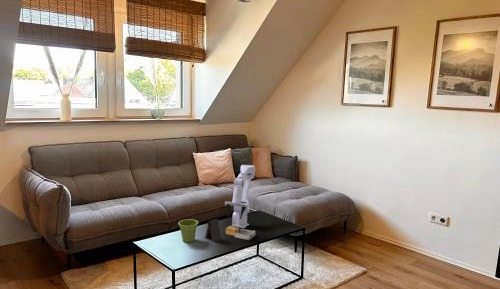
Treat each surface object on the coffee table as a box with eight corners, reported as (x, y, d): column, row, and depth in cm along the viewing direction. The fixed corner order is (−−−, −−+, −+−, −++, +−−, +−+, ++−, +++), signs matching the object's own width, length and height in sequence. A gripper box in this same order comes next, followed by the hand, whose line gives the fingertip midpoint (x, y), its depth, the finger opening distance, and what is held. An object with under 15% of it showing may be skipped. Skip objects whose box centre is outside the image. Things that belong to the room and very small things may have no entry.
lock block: (225, 234, 233) (225, 228, 232) (229, 231, 237) (229, 225, 237) (235, 236, 230) (235, 230, 229) (239, 233, 234) (239, 227, 234)
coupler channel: (234, 237, 228) (234, 232, 228) (241, 232, 236) (241, 228, 236) (249, 240, 224) (249, 235, 223) (255, 235, 232) (255, 230, 231)
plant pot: (190, 235, 230) (190, 217, 228) (202, 240, 222) (202, 222, 220) (174, 240, 222) (174, 222, 220) (185, 245, 213) (185, 227, 212)
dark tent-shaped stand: (221, 239, 224) (221, 220, 222) (214, 242, 219) (214, 223, 218) (212, 235, 230) (212, 217, 228) (204, 238, 226) (204, 219, 224)
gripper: (226, 193, 229) (223, 214, 224) (249, 196, 230) (246, 218, 225) (226, 196, 236) (222, 217, 230) (248, 199, 236) (245, 220, 231)
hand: (234, 217), depth 228 cm, fingers open, 7 cm apart
